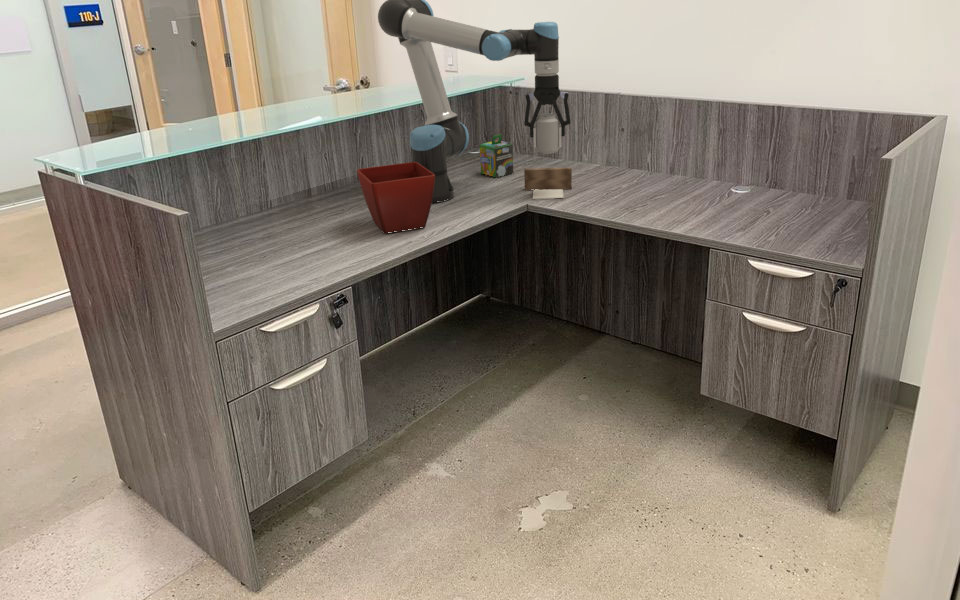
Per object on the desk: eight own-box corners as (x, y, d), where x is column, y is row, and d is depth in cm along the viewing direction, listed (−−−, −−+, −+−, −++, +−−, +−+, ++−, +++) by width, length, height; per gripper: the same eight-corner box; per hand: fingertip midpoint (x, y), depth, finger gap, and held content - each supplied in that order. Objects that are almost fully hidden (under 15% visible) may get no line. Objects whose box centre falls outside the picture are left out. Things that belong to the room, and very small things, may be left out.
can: (559, 149, 252) (558, 112, 247) (559, 154, 245) (558, 116, 240) (536, 149, 253) (535, 112, 248) (535, 154, 246) (535, 117, 241)
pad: (532, 199, 251) (532, 198, 250) (533, 191, 260) (533, 189, 260) (563, 199, 250) (563, 197, 250) (562, 190, 259) (562, 189, 259)
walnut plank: (524, 190, 262) (524, 170, 259) (524, 188, 264) (524, 168, 261) (571, 189, 261) (571, 168, 258) (571, 187, 262) (571, 167, 260)
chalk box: (498, 169, 291) (496, 131, 285) (514, 173, 284) (513, 133, 278) (479, 174, 285) (477, 135, 279) (495, 178, 279) (494, 138, 273)
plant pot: (440, 229, 226) (436, 174, 220) (377, 240, 220) (371, 183, 214) (420, 213, 243) (416, 161, 236) (362, 222, 237) (355, 169, 230)
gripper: (513, 77, 237) (516, 150, 246) (579, 74, 235) (579, 148, 244) (514, 74, 244) (516, 145, 253) (578, 71, 242) (578, 143, 251)
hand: (547, 146), depth 248 cm, fingers closed on can, 7 cm apart
